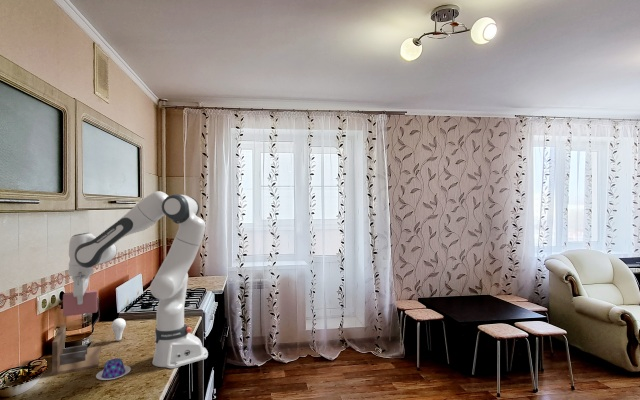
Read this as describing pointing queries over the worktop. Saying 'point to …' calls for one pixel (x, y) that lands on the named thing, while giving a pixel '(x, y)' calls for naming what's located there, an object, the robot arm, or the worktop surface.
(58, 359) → the shelf stand
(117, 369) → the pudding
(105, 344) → the worktop surface
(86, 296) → the book
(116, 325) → the lightbulb
